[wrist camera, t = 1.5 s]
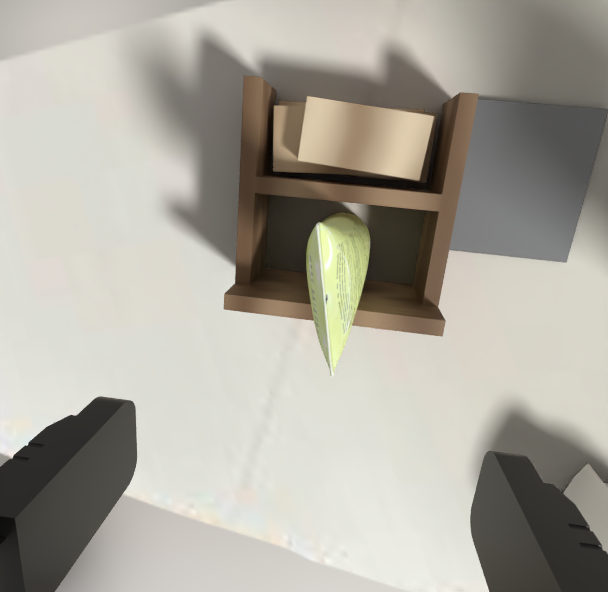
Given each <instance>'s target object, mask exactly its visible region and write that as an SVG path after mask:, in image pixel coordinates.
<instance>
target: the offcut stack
mask: <svg viewBox="0 0 608 592" xmlns="http://www.w3.org/2000/svg"><path fill="white" fill-rule="evenodd" d="M437 115H438V113H429V112H425V109H397V108H380V107H373V106H367V105H361V104H354V103H348V102H342V101H336V100H329V99H323V98H317V97H310V96H307V101H306V102H294V101H282V100H279V105H278V106H276V105H274V137H273V171H276V172H301V173H326V174H339V175H349V176H360V177H370V178H381V179H391V180H402V181H412V182H423V183H426V181H427V175H428V169H429V163H430V157H431V151H432V145H433V139H434V133H435V127H436V121H437Z"/></svg>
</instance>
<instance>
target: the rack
mask: <svg viewBox="0 0 608 592" xmlns="http://www.w3.org/2000/svg"><path fill="white" fill-rule="evenodd" d="M478 95H479V94H474V93H461V92H460V93H459V94H457V95H456V96H455V97H453V98H452V99H450V100H449V101H447V102H446V103H444V104H443V110H442V116H441V122H440V128H439V133H438V139H437V145H436V151H435V157H434V163H433V169H432V175H431V181H430V186H429V190H425V189H414V188H404V187H394V186H383V185H373V184H362V183H352V182H342V181H331V180H321V179H310V178H300V177H290V176H279V175H271V165H272V149H273V133H274V105H275V101H276V90H275V89H274V88H272V87H271V86H270V85H269V84H268V83H267V82H266V81H265V80H264V79H263V78H261V77H254V76H244V88H243V112H242V136H241V159H240V183H239V206H238V230H237V253H236V277H235V284H234V285H233V286H232V287H231V288H230V289H229V290H228V291H227V292H226V293H225V294H224V309H225V310H233V311H241V312H249V313H257V314H265V315H273V316H281V317H290V318H298V319H306V320H314V318H313V312H312V307H311V301H310V295H309V288H308V280H307V273H304V272H295V271H286V270H278V269H269V268H265V260H266V244H267V228H268V212H269V196H270V195H279V196H289V197H299V198H309V199H319V200H329V201H339V202H349V203H359V204H368V205H378V206H388V207H398V208H408V209H418V210H425V216H424V222H423V228H422V233H421V239H420V245H419V251H418V257H417V263H416V269H415V275H414V281H413V285H408V284H400V283H391V282H382V281H373V280H365V281H364V285H363V289H362V293H361V297H360V300H359V304H358V307H357V310H356V313H355V317H354V320H353V323H352V325H354V326H362V327H370V328H378V329H386V330H394V331H402V332H410V333H418V334H427V335H435V336H443V331H444V326H445V319H444V317H443V315H442V314H441V312H440V310H439V308H438V305H439V299H440V294H441V289H442V284H443V279H444V273H445V268H446V263H447V258H448V252H449V247H450V242H451V237H452V231H453V226H454V221H455V216H456V211H457V205H458V200H459V195H460V190H461V184H462V179H463V174H464V169H465V163H466V158H467V153H468V148H469V143H470V137H471V132H472V127H473V122H474V116H475V111H476V106H477V101H478Z"/></svg>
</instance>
